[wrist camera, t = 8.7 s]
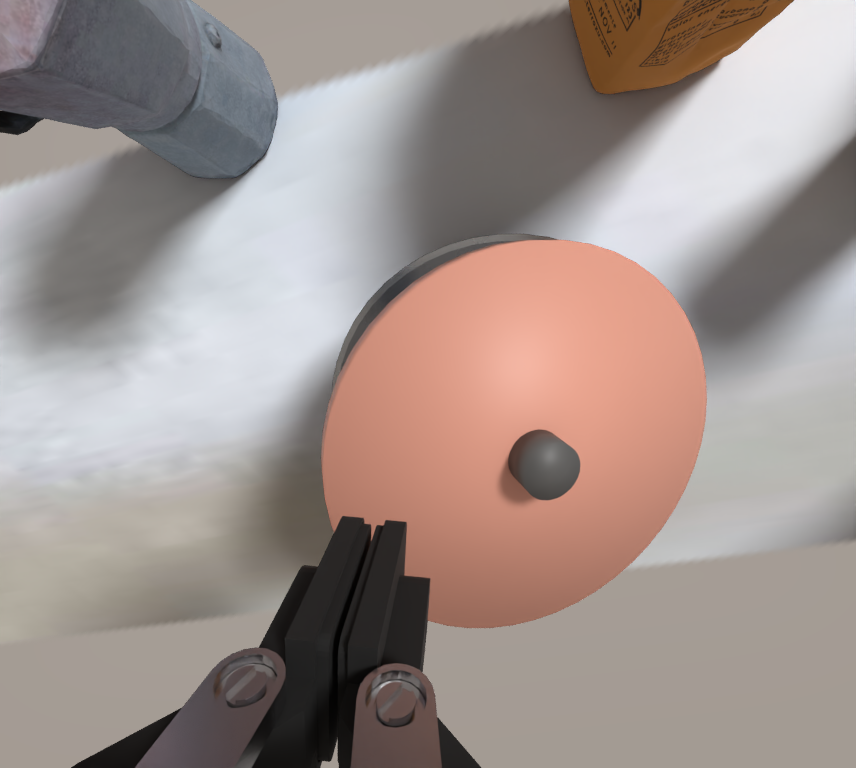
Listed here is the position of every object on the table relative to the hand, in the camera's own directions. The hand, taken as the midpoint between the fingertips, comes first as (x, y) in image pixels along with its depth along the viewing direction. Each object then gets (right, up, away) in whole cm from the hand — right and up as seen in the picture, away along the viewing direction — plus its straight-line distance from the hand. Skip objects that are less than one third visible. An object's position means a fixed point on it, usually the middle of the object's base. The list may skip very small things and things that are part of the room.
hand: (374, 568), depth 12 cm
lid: (+5, +2, +8) cm, 10 cm away
